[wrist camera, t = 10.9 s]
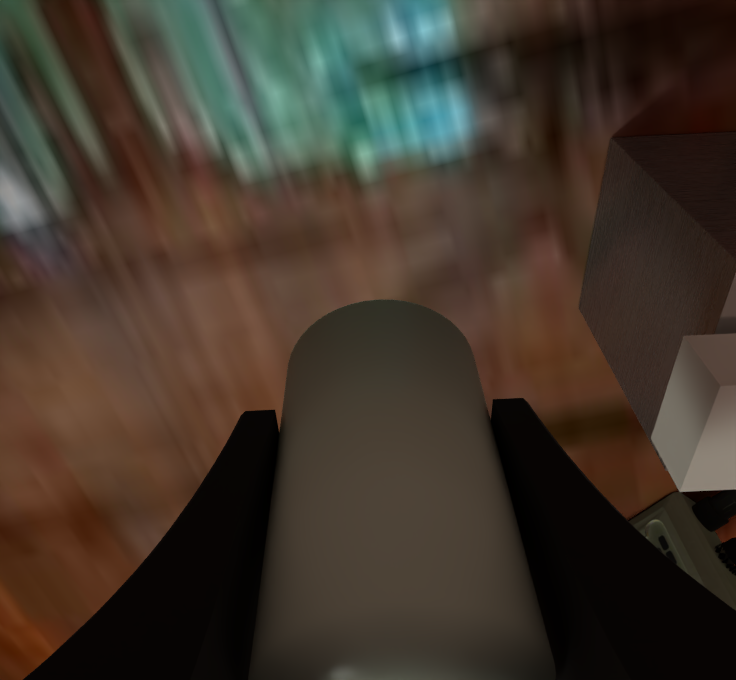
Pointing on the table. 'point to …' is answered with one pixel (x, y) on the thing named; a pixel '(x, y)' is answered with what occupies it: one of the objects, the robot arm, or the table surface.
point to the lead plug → (392, 514)
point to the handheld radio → (695, 538)
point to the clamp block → (661, 257)
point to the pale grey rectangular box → (700, 415)
